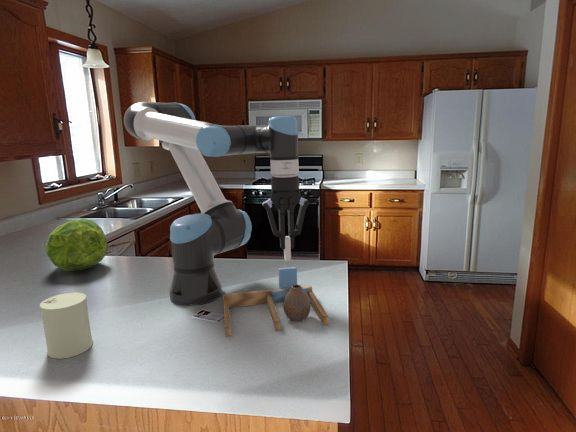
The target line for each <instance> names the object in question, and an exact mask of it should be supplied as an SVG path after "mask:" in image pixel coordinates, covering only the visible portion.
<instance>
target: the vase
mask: <svg viewBox="0 0 576 432" xmlns="http://www.w3.org/2000/svg"><path fill="white" fill-rule="evenodd" d="M302 287H303V286H302V285H301V284H298V283H297V284H296V285H292V287H291V289H290V290H289V292H288V293H287V294H286V296H285V298H284V302H283V303H282V305H283V306H282V307H283V312H284V315H285V316H286V317H287V319H289V321H291V322H295V323H299V322H303V321H305V320H306V319H308V317H309V315H310V312H311V307H312V305H311V303H310V299H309V297H308V295H307V293H306V292H305V291H304V290H303V289H302Z"/></svg>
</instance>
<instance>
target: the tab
mask: <svg viewBox="0 0 576 432" xmlns="http://www.w3.org/2000/svg"><path fill="white" fill-rule="evenodd" d="M297 269H298V268H297V266H291V267H289V266H288V267H279V268H278V287H279V288H278V289H282V288H291V287H292V285H296V284H298V272H297V271H298V270H297Z"/></svg>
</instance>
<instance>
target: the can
mask: <svg viewBox="0 0 576 432" xmlns="http://www.w3.org/2000/svg"><path fill="white" fill-rule="evenodd" d="M87 301H88V300H87V294H85V293H83V292H76V291H74V292H65V293H60V294H55V295H52V296H50V297H49V298H46V299H44V300H43V301H41V302H40V304H39V309H40V313H41V314H40V315H41V319H42V324H43V330H44V335H45V336H44V338H45V342H46V350H47V352H46V354H47V356H48V357H49V358H51V359H56V360H57V359H58V360H59V359H68V358H69V359H70V358H72V357H76V356H79V355H81V354H83V353H84V352H86V351H88V350H90V348H91V347H92V346H93V345H94V340H93V336H92V332H91V325H90V324H91V323H90V318H89V310H88V304H87V303H88V302H87Z"/></svg>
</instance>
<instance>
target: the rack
mask: <svg viewBox="0 0 576 432" xmlns="http://www.w3.org/2000/svg"><path fill="white" fill-rule="evenodd" d="M301 287H302V289H303V290H304V291H305V292H306V293H307V295H308V297H309V299H310V303H311V307H312V309H313V311H314V312H315V313H316V315H317V317H318V319H319V321H320V323H321V325H322V326H328V325H329V317H328V316H329V315H328V313H327V312H326V311H325V309H324V307H323V306H322V304H321V302H320V300H319V299H318V298H317V295H316V294H315V293H314V291H313V286H312V285H307V286H305V285H304V286H301ZM290 289H291V288H282V289H279V288H273V289H263V290H253V291H243V292H232V293H224V294H223V293H222V298H223V299H222V300H223V315H224V332H225V337H231V336H232V333H231V332H232V331H231V320H230V309H229V308H235V307H246V306H254V305H255V306H256V305H266V306H267V309H268V311H269V315H270V317H271V321H272V325H273V329H274V331H275V332H279V331H281V319H280V316H279V314H278V310H277V308H276V305H275V304H283V302H284V298H285V296H286V294H287V293H288V292H289V290H290Z"/></svg>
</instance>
